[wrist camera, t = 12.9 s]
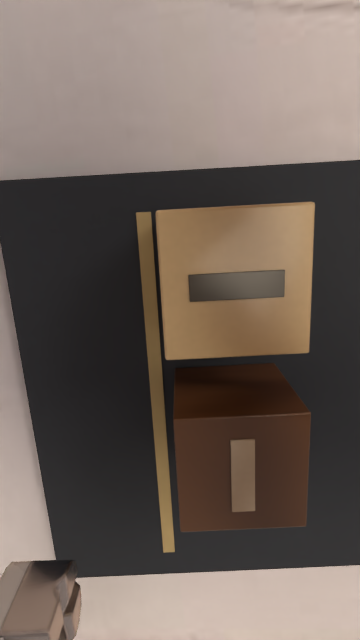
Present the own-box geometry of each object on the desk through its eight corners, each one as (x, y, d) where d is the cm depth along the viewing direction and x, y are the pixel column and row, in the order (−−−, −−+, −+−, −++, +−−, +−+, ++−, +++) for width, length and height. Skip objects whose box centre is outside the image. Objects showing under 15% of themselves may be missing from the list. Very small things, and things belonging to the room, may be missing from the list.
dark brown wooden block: (180, 454, 17) (180, 534, 12) (174, 367, 16) (173, 420, 11) (273, 450, 17) (307, 528, 12) (274, 362, 16) (312, 413, 11)
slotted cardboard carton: (169, 324, 15) (164, 362, 11) (162, 217, 14) (154, 209, 10) (272, 319, 15) (310, 354, 11) (273, 211, 14) (317, 200, 10)
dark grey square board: (61, 571, 19) (58, 580, 18) (-6, 182, 14) (-12, 180, 14) (429, 555, 19) (435, 563, 18) (489, 154, 14) (500, 151, 13)
